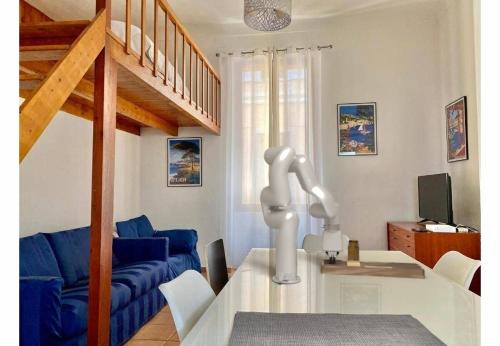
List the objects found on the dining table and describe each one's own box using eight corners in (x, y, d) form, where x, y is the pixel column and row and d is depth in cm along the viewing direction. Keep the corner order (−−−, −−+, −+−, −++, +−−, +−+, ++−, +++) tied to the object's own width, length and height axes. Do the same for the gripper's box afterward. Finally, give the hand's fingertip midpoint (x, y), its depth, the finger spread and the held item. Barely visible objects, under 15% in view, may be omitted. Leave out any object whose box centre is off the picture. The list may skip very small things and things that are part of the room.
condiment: (352, 260, 208) (352, 239, 209) (365, 263, 202) (365, 240, 202) (344, 262, 204) (344, 240, 204) (357, 265, 197) (357, 242, 197)
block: (360, 274, 178) (360, 263, 178) (347, 273, 179) (347, 263, 179) (359, 271, 184) (358, 261, 184) (346, 270, 185) (346, 260, 185)
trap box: (424, 278, 169) (424, 269, 169) (321, 273, 179) (321, 264, 179) (418, 272, 181) (418, 263, 181) (322, 267, 191) (322, 259, 191)
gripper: (316, 228, 182) (316, 266, 182) (348, 228, 179) (348, 267, 179) (316, 226, 190) (317, 262, 189) (347, 226, 186) (347, 263, 186)
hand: (332, 264), depth 184 cm, fingers closed
